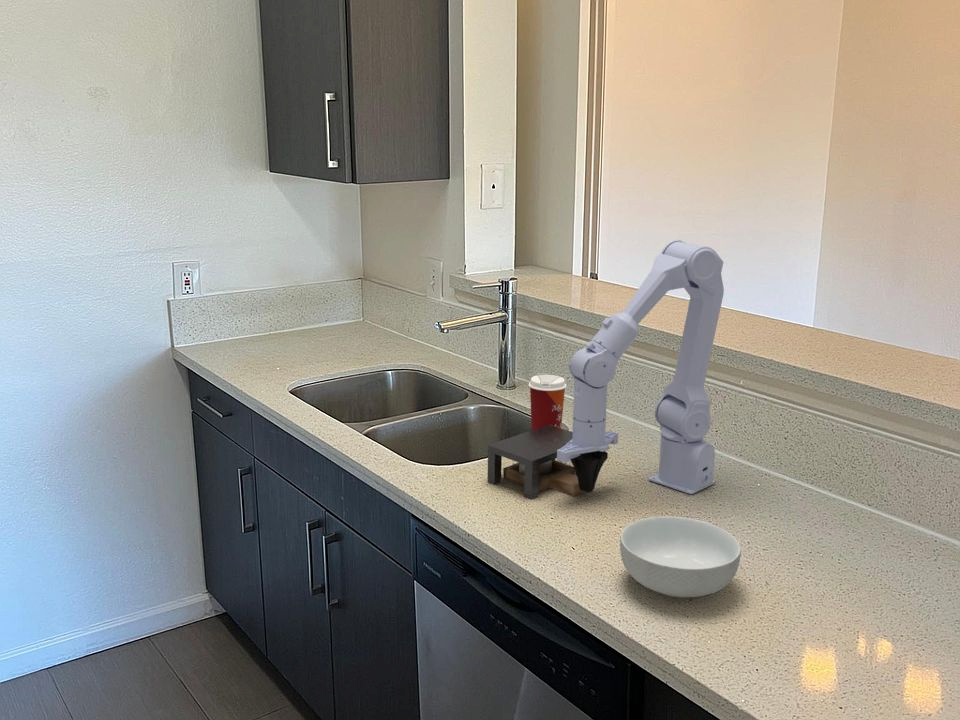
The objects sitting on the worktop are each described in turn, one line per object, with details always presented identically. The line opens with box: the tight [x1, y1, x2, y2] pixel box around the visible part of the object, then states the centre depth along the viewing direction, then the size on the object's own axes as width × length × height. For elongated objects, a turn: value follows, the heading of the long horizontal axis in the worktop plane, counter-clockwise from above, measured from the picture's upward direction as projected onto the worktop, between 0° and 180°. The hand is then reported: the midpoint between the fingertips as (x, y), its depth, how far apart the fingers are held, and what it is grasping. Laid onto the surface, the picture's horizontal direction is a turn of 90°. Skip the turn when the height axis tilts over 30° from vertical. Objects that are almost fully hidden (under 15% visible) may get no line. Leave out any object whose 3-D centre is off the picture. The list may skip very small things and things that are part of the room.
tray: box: [502, 459, 586, 497], centre depth 169 cm, size 14×10×4 cm
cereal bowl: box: [619, 515, 742, 599], centre depth 132 cm, size 17×17×7 cm
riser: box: [487, 425, 573, 500], centre depth 170 cm, size 11×17×7 cm, turn 134°
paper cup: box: [528, 374, 567, 430], centre depth 187 cm, size 8×8×14 cm
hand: (586, 490), depth 163 cm, fingers closed, pressing on tray
